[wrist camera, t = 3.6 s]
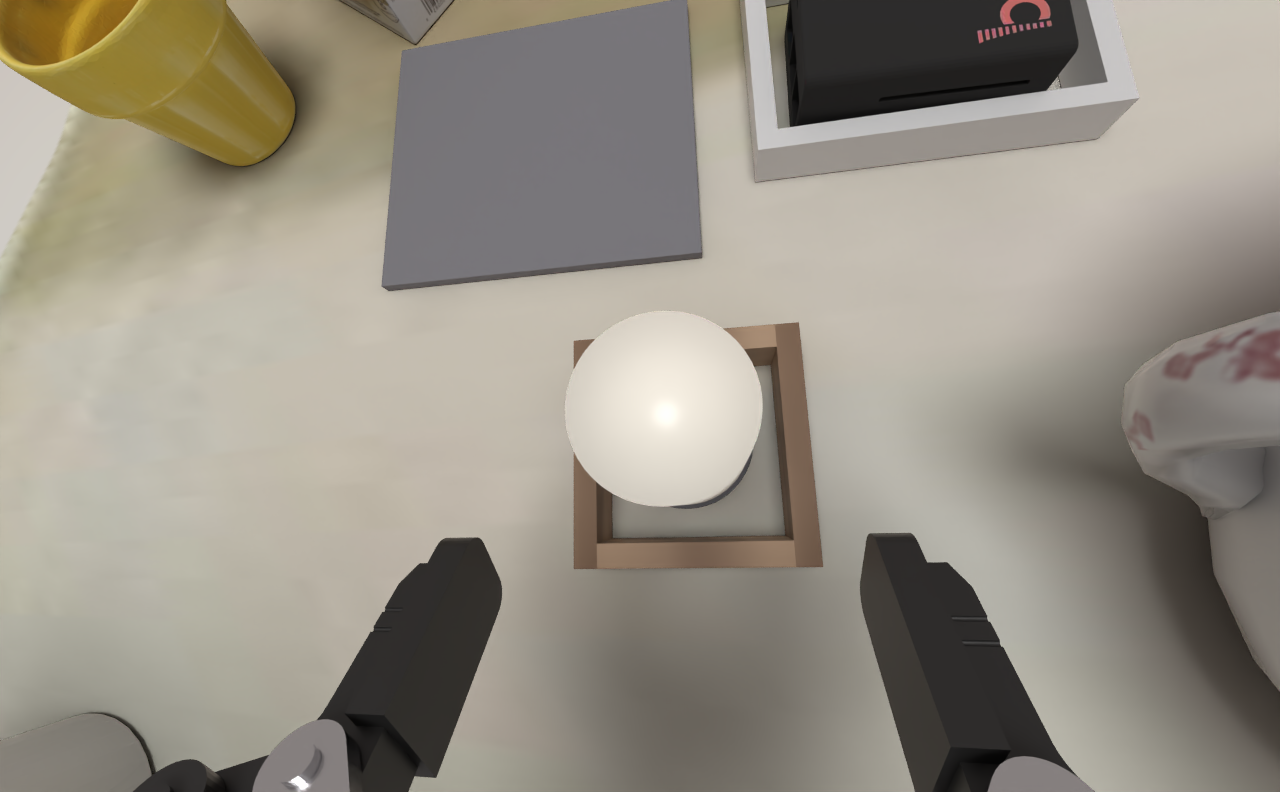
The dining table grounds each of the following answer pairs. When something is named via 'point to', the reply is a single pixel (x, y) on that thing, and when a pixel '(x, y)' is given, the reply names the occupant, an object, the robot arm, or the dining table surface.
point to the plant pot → (155, 69)
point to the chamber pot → (1222, 459)
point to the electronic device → (919, 53)
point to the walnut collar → (791, 550)
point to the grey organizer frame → (943, 109)
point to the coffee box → (402, 14)
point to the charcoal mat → (545, 151)
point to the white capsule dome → (664, 410)
